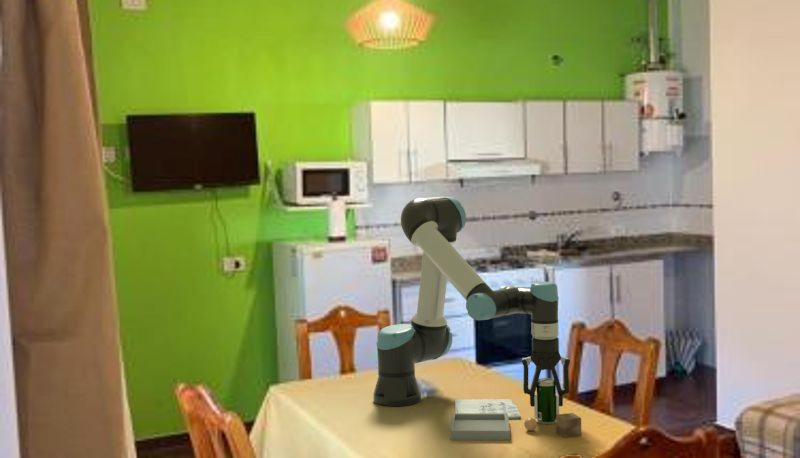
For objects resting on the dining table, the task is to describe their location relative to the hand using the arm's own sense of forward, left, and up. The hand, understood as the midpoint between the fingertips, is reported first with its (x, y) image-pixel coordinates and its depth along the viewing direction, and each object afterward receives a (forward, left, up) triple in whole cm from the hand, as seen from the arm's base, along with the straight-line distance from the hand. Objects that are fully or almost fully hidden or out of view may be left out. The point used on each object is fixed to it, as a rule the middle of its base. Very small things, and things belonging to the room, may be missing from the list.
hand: (546, 417), depth 235 cm
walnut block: (+5, -11, -1) cm, 12 cm away
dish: (-19, -8, -1) cm, 21 cm away
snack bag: (-17, +12, -2) cm, 21 cm away
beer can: (0, 0, -1) cm, 1 cm away
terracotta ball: (-5, -8, 0) cm, 9 cm away
